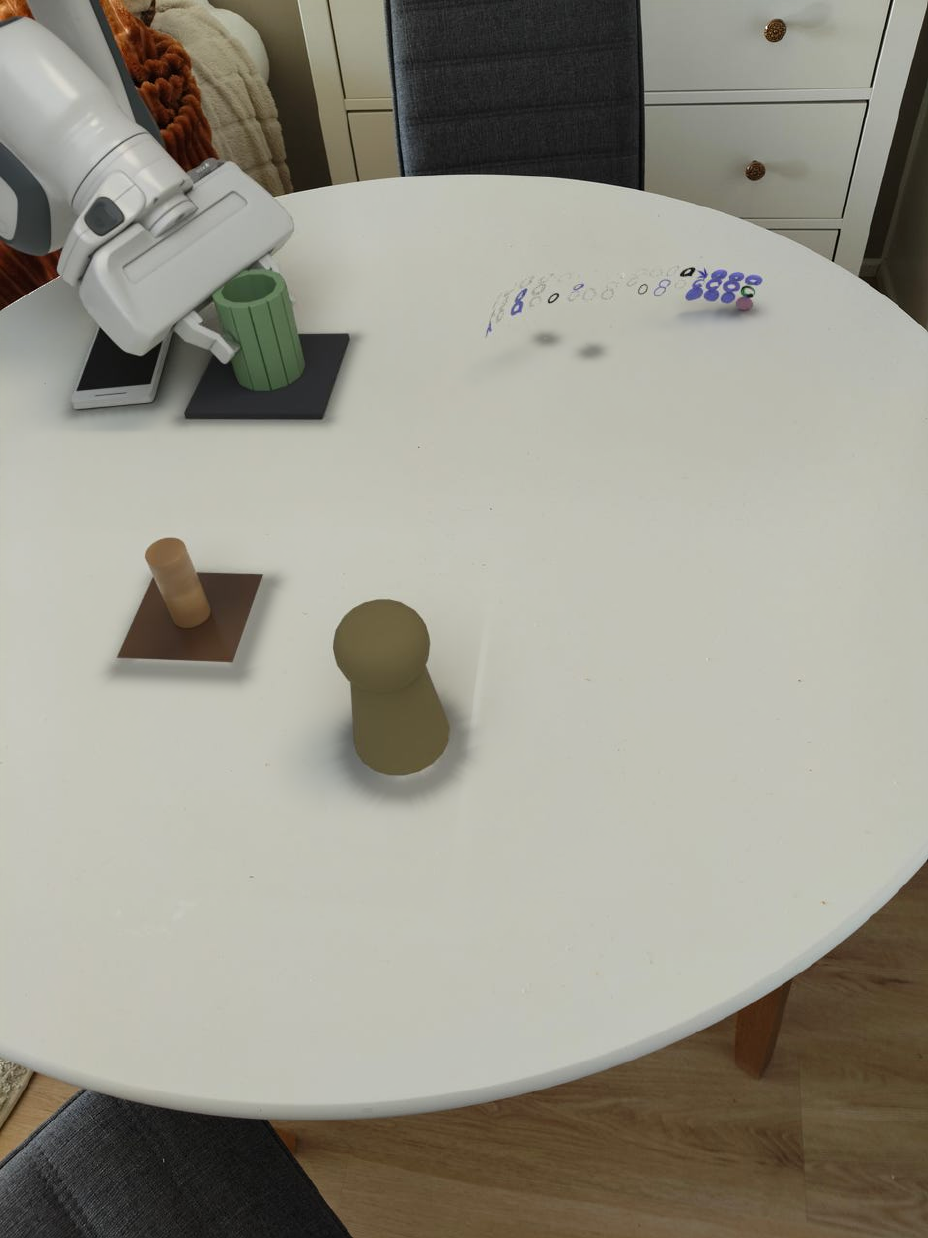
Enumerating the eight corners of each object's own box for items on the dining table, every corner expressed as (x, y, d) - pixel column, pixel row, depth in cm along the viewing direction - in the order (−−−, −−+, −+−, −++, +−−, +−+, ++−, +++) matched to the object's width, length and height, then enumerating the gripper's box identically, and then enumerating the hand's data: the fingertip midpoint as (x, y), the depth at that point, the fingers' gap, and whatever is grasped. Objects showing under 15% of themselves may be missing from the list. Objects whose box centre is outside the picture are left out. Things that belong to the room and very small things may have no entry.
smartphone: (179, 307, 97) (176, 299, 96) (153, 402, 86) (150, 393, 86) (107, 315, 97) (104, 306, 96) (72, 410, 86) (68, 401, 86)
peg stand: (121, 666, 66) (82, 595, 61) (159, 580, 71) (127, 507, 66) (236, 671, 65) (207, 598, 60) (266, 583, 70) (241, 509, 65)
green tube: (228, 390, 86) (203, 307, 80) (246, 351, 90) (223, 269, 84) (296, 390, 85) (275, 306, 79) (311, 351, 89) (292, 268, 83)
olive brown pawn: (341, 725, 61) (305, 605, 53) (431, 690, 63) (409, 567, 55) (373, 801, 58) (340, 684, 49) (469, 762, 59) (452, 642, 51)
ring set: (718, 295, 94) (772, 193, 84) (749, 392, 89) (811, 296, 79) (461, 288, 89) (485, 179, 79) (479, 390, 84) (507, 288, 74)
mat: (185, 418, 84) (183, 412, 84) (224, 339, 92) (222, 333, 92) (322, 419, 83) (321, 413, 82) (349, 338, 91) (348, 332, 90)
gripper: (209, 171, 89) (317, 291, 93) (41, 282, 78) (171, 414, 81) (234, 126, 84) (348, 255, 87) (58, 238, 73) (197, 380, 76)
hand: (262, 333), depth 84 cm, fingers closed on green tube, 6 cm apart
